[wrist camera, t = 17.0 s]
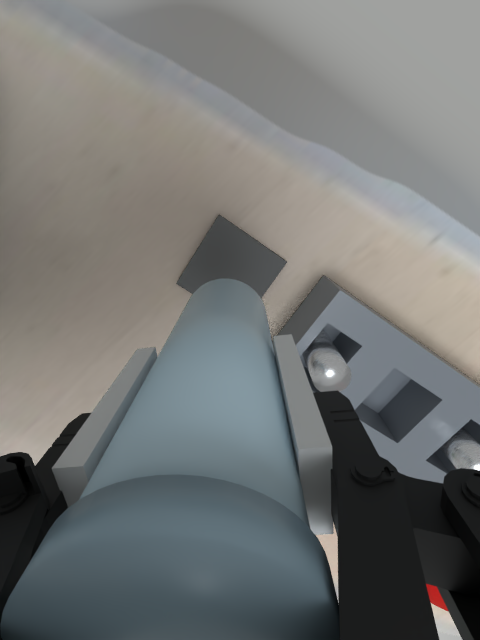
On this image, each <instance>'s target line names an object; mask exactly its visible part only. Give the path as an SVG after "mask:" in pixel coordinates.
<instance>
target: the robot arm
mask: <svg viewBox="0 0 480 640" xmlns="http://www.w3.org/2000/svg"><path fill="white" fill-rule="evenodd" d="M273 340H274V352H275V360H276V365H277V370H278V375H279V380H280V384H281V389H282V394H283V399H284V404H285V409H286V414H287V419H288V424H289V429H290V434H291V439H292V444H293V448H294V453H295V458H296V463H297V468H298V473H299V478H300V482H301V486H302V490H303V495H304V500H305V505H306V510H307V515H308V520H309V525H310V529H311V530H312V532H313V533H314V534H315V535H321V534H333V522H334V525H335V529H336V532H337V536H338V592H339V640H439V637H438V633H437V628H436V624H435V620H434V616H433V611H432V607H431V603H430V599H429V594H428V590H427V586H426V584H429V585H433V586H436V587H437V588H438V590H439V592H440V594H441V596H442V599H443V601H444V603H445V605H446V607H447V609H448V611H449V613H450V615H451V617H452V619H453V621H454V623H455V625H456V627H457V629H458V631H459V633H460V635H461V637H462V639H463V640H480V471H479V470H476V469H466V468H460V469H456V470H452V471H450V472H449V473H448V474H446V475H445V476H444V481H443V483H438V482H432V481H427V480H421V479H416V478H413V477H409V476H406V475H404V474H401V473H399V472H398V471H397V469H396V467H395V466H393V465H392V464H391V463H390V462H389V461H388V460H386V459H384V458H382V457H380V456H379V454H378V453H377V451H376V449H375V447H374V445H373V443H372V441H371V439H370V438H369V436H368V434H367V432H366V430H365V428H364V426H363V424H362V423H361V421H360V420H359V417H358V415H357V413H356V412H355V410H354V408H353V406H352V404H351V402H350V400H349V399H348V398H347V397H346V396H344V395H343V394H342V393H340V392H339V391H338V390H337V391H325V392H314V393H313V392H312V389H311V387H310V384H309V381H308V378H307V376H306V373H305V370H304V367H303V364H302V362H301V359H300V356H299V353H298V351H297V348H296V345H295V342H294V340H293V337H292V334H289V335H279V336H273ZM156 359H157V353H156V348H155V347H152V348H142V349H137V350H136V352H135V353H134V355H133V356H132V357H131V359H130V360H129V362H128V363H127V364H126V366H125V367H124V369H123V370H122V371H121V373H120V374H119V375H118V377H117V378H116V380H115V381H114V382H113V384H112V385H111V387H110V388H109V389H108V391H107V392H106V394H105V395H104V396H103V398H102V399H101V401H100V402H99V403H98V405H97V406H96V407H95V409H94V410H93V412H92V413H83V414H81V415H80V416H78V417H77V418H76V419H74V420H73V421H72V422H70V423H69V424H68V425H67V426H66V428H65V429H64V430H63V431H62V433H61V434H60V437H58V438H57V439H56V440H55V442H54V443H53V444H52V447H50V448H49V449H48V451H47V452H46V453H45V454H44V456H43V457H42V458H41V459H40V461H39V462H38V463H37V465H36V466H35V465H34V463H33V461H32V458H31V457H30V455H29V454H27V453H23V452H18V453H10V454H7V455H4V456H1V457H0V624H1V619H2V613H3V610H4V607H5V605H6V603H7V601H8V598H9V596H10V595H11V593H12V591H13V590H14V588H15V586H16V585H17V583H18V581H19V579H20V578H21V576H22V574H23V573H24V571H25V569H26V568H27V566H28V564H29V563H30V561H31V559H32V558H33V556H34V554H35V552H36V551H37V549H38V547H39V546H40V544H41V542H42V541H43V539H44V537H45V536H46V534H47V532H48V531H49V529H50V528H51V526H52V525H53V524H54V522H55V521H56V519H57V518H58V517H59V516H60V515H61V514H62V513H63V512H64V511H65V510H66V509H67V508H69V507H70V506H71V505H73V504H74V503H76V502H77V501H78V500H79V499H80V497H81V495H82V493H83V491H84V489H85V488H86V486H87V484H88V482H89V480H90V479H91V477H92V475H93V473H94V471H95V470H96V468H97V466H98V464H99V462H100V461H101V459H102V457H103V455H104V453H105V451H106V450H107V448H108V446H109V444H110V442H111V441H112V439H113V437H114V435H115V433H116V432H117V430H118V428H119V426H120V424H121V422H122V421H123V419H124V417H125V415H126V413H127V412H128V410H129V408H130V406H131V404H132V403H133V401H134V399H135V397H136V395H137V394H138V392H139V390H140V388H141V386H142V384H143V383H144V381H145V379H146V377H147V375H148V374H149V372H150V370H151V368H152V366H153V365H154V363H155V361H156ZM0 640H2V638H1V629H0Z"/></svg>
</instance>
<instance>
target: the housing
mask: <svg viewBox="0 0 480 640" xmlns="http://www.w3.org/2000/svg"><path fill="white" fill-rule="evenodd" d="M321 330H322V331H324V332H326V333H327V334H328V336H329V337H330V339H331V340H332V342H333V343H334V345H335V346H336V348H337V350H338V351H339V353H340V354H341V356H342V357H343V359H344V360H345V362H346V364H347V365H348V367H349V368H350V371H351V381H350V383H349V385H348V386H347V387H346V388H345V389H344V390H342V391H341V392H340V393H342V394H343V395H344V396H346V397H347V398H348V399H349V400H350V402H351V404H352V406H353V408H354V410H355V412H356V413H357V415H358V417H359V420H360V421H361V423H362V424H363V426H364V428H365V430H366V432H367V434H368V436H369V438H370V439H371V441H372V443H373V445H374V447H375V449H376V451H377V453H378V454H379V456H380V457H382V458H384V459H386V460H388V461H389V462H390V463H391V464H392V465H393V466H395V467H396V469H397V471H398V472H399V473H401V474H404V475H406V476H409V477H413V478H416V479H421V480H427V481H432V482H438V483H443V481H444V476H445V475H446V474H448V473H449V472H450V471H452V470H456V467H455V466H454V465H453V464H452V462H451V461H450V460H449V459H448V457H447V456H446V455H445V454H444V452H443V451H442V450H441V449H440V447H441V446H442V445H443V444H444V443H445V442H447V441H448V440H449V439H450V438H451V437H452V436H453V435H454V434H455V433H456V432H458V431H459V430H460V429H461V428H462V427H463V428H464V429H465V430H466V431H467V432H468V433H469V434H470V435H471V436H472V437H473V438H474V439H475V440H476V441H477V442H478V443H479V444H480V385H479V384H478V383H476V382H475V381H474V380H472V379H471V378H469V377H468V376H466V375H465V374H464V373H462V372H461V371H459V370H458V369H457V368H455V367H454V366H452V365H451V364H449V363H448V362H447V361H445V360H444V359H442V358H441V357H439V356H438V355H437V354H435V353H434V352H432V351H431V350H430V349H428V348H427V347H425V346H424V345H422V344H421V343H420V342H418V341H417V340H415V339H414V338H413V337H411V336H410V335H408V334H407V333H405V332H404V331H403V330H401V329H400V328H398V327H397V326H395V325H394V324H393V323H391V322H390V321H388V320H387V319H386V318H384V317H383V316H381V315H380V314H378V313H377V312H376V311H374V310H373V309H371V308H370V307H368V306H367V305H366V304H364V303H363V302H361V301H360V300H359V299H357V298H356V297H354V296H353V295H351V294H350V293H349V292H347V291H346V290H344V289H343V288H342V287H340V286H339V285H337V284H336V283H334V282H333V281H332V280H330V279H329V278H327V277H326V276H324V275H323V277H322V278H321V279H320V280H319V282H318V283H317V284H316V286H315V287H314V288H313V289H312V291H311V292H310V293H309V295H308V296H307V297H306V299H305V300H304V301H303V302H302V304H301V305H300V306H299V308H298V309H297V310H296V312H295V313H294V314H293V315H292V317H291V318H290V319H289V321H288V322H287V323H286V325H285V326H284V327H283V328H282V330H281V331H280V332H279V334H278V335H277V336H279V335H289V334H292V337H293V340H294V342H295V345H296V348H297V351H298V353H299V356H300V359H301V362H302V364H303V367H304V370H305V373H306V376H307V378H308V381H309V384H310V387H311V389H312V392H313V393H314V392H320V391H319V390H318V389H316V387H315V386H314V384H313V381H312V379H311V376H310V373H309V371H308V368H307V366H306V363H305V361H304V358H303V355H302V354H303V352H304V351H305V350H306V349H307V348H308V346H309V345H310V344H311V343H312V341H313V340H314V339H315V338H316V337H317V335H318V334H319V333H320V332H321ZM272 344H273V349H274V340H273V341H272ZM274 354H275V352H274Z"/></svg>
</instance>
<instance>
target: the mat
mask: <svg viewBox="0 0 480 640" xmlns="http://www.w3.org/2000/svg"><path fill="white" fill-rule="evenodd" d="M286 263H287V261H285V260H284V259H282V258H281V257H280V256H278V255H277V254H275V253H274V252H272V251H271V250H270V249H268V248H267V247H265V246H264V245H262V244H261V243H259V242H258V241H257V240H255V239H254V238H252V237H251V236H249V235H248V234H247V233H245V232H244V231H242V230H241V229H239V228H238V227H236V226H235V225H234V224H232V223H231V222H229V221H228V220H226V219H225V218H224V217H222V216H221V215H218V217H217V219H216V220H215V222H214V223H213V225H212V227H211V228H210V230H209V232H208V233H207V235H206V236H205V238H204V240H203V241H202V243H201V245H200V246H199V248H198V249H197V251H196V253H195V254H194V256H193V257H192V259H191V261H190V262H189V264H188V266H187V267H186V269H185V270H184V272H183V274H182V275H181V277H180V278H179V280H178V282H177V283H176V284H178V285H179V286H181V287H182V288H184V289H186V290H187V291H189V292H190V293H192V294H193V293H194V292H195V291H196V290H197V289H198V288H199V287H201V286H202V285H204V284H205V283H207V282H210V281H212V280H216V279H234V280H238V281H241V282H243V283H245V284H247V285H248V286H250V287H251V288H253V289H254V290H255V291H256V292H257V294H258V295H259V296H260V298H262V296H263V295H264V293H265V292H266V291H267V289H268V288H269V287H270V285H271V284H272V282H273V281H274V280H275V278H276V277H277V275H278V274H279V273H280V271H281V270H282V269H283V267H284V266H285V264H286Z"/></svg>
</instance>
